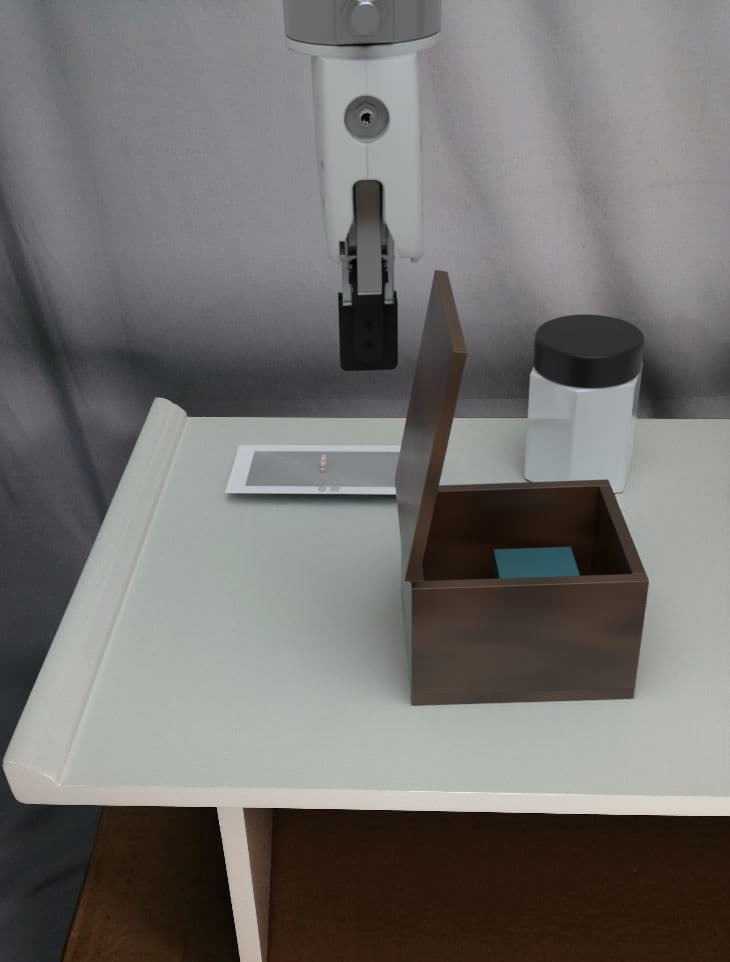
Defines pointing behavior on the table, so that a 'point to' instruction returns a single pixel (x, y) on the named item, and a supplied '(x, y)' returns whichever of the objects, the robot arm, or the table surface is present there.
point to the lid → (429, 422)
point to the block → (534, 563)
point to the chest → (525, 598)
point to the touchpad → (314, 469)
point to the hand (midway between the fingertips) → (368, 363)
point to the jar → (583, 400)
